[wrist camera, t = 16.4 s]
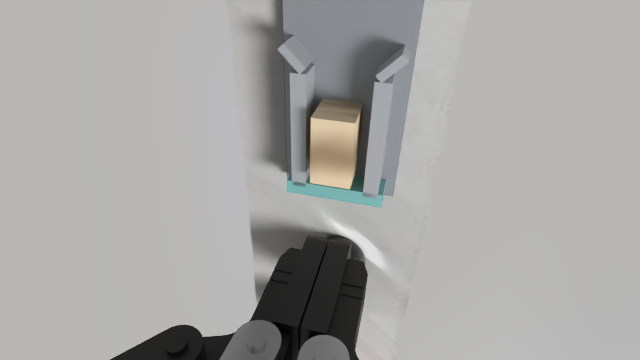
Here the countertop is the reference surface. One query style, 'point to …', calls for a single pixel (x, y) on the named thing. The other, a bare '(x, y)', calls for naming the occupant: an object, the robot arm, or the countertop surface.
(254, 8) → the countertop surface
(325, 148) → the beech block
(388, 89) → the guide board
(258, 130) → the countertop surface
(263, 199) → the countertop surface
